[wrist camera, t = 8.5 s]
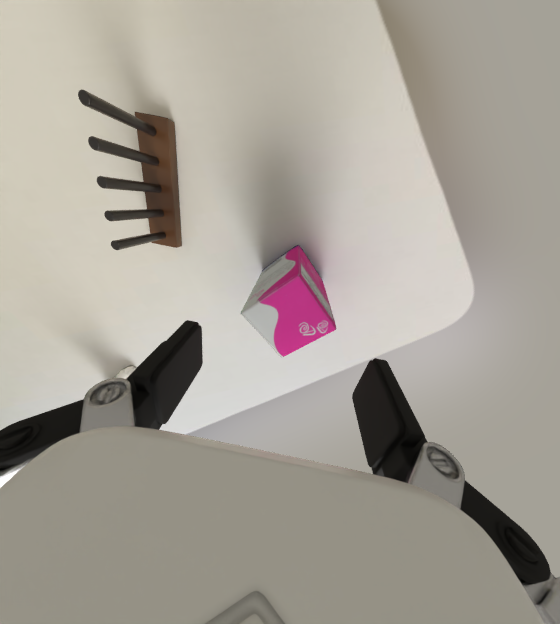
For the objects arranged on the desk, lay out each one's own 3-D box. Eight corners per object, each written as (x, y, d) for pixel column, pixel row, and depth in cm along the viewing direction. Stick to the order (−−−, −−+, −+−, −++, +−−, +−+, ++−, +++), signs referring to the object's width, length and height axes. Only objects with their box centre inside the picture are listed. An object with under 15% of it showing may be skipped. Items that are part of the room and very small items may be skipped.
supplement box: (287, 304, 28) (279, 360, 18) (261, 270, 26) (235, 311, 16) (324, 282, 26) (338, 331, 16) (299, 242, 24) (296, 270, 14)
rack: (143, 116, 20) (53, 67, 13) (174, 122, 20) (102, 76, 13) (157, 241, 26) (101, 255, 19) (182, 246, 26) (135, 262, 19)
